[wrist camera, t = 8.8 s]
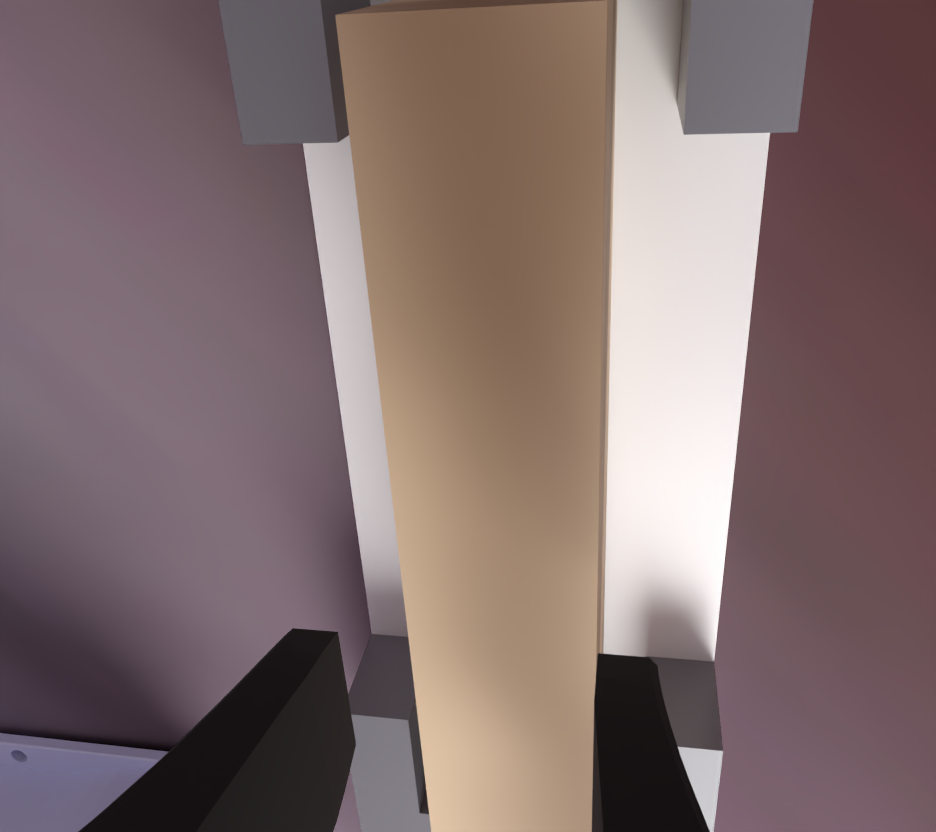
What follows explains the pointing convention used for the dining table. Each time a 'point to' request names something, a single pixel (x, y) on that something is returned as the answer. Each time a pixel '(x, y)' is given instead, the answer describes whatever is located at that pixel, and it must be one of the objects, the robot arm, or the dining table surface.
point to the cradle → (631, 339)
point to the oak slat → (493, 378)
